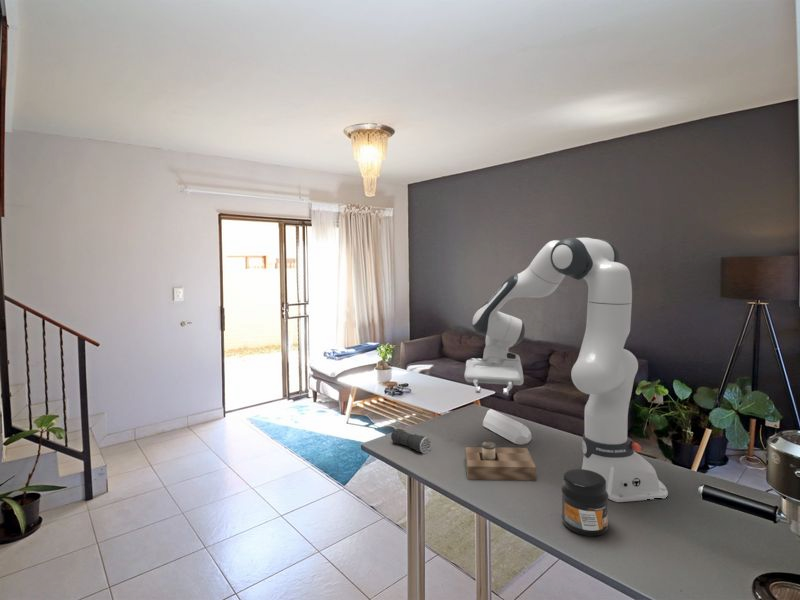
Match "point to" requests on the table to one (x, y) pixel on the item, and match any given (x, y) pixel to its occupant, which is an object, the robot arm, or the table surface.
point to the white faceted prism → (507, 427)
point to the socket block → (500, 464)
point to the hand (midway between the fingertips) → (491, 393)
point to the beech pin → (488, 451)
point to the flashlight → (411, 440)
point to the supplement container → (585, 502)
